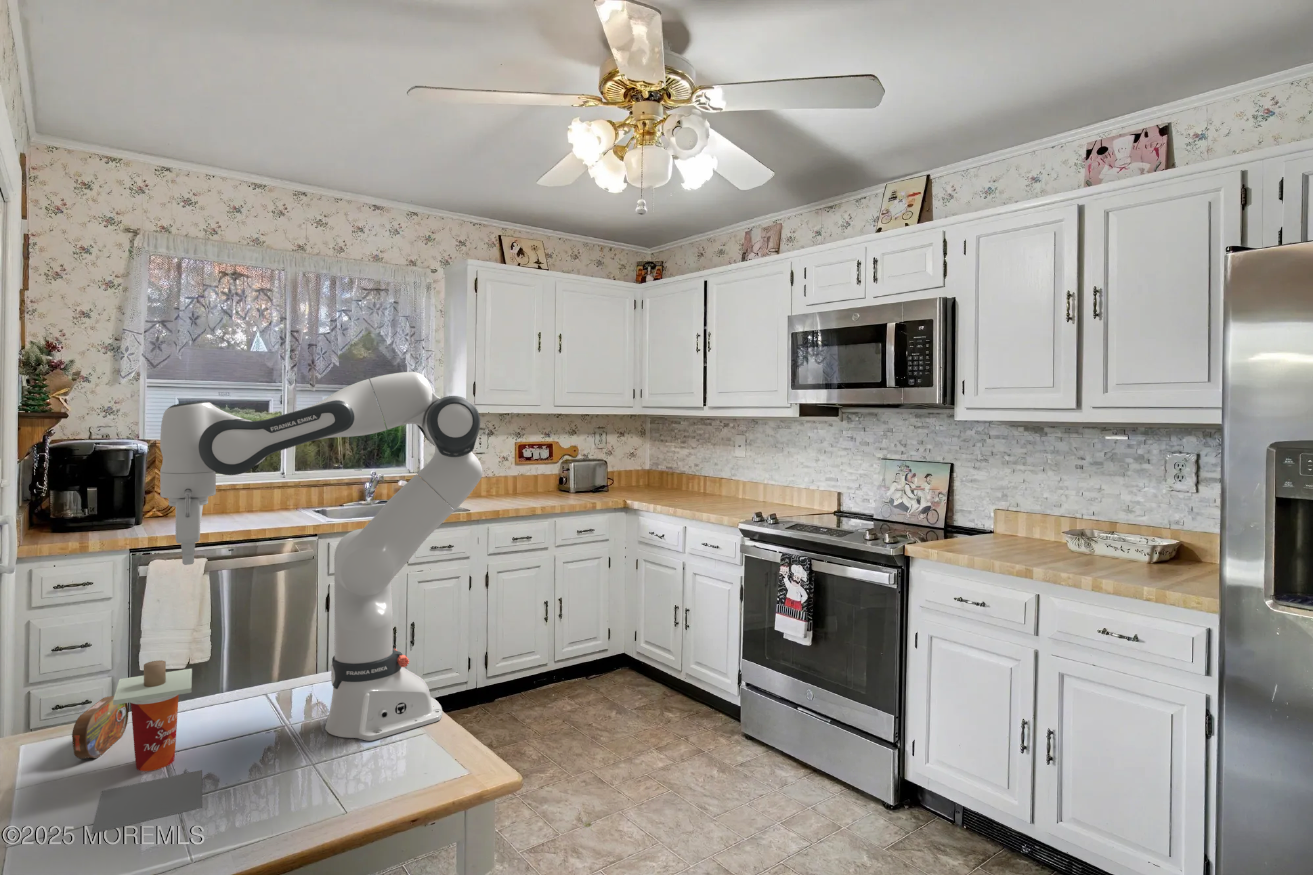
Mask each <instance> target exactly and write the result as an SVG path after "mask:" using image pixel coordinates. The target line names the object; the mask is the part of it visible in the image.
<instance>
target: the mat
mask: <svg viewBox="0 0 1313 875" xmlns="http://www.w3.org/2000/svg"><path fill="white" fill-rule="evenodd" d="M199 809H203V769H200V770H196V771H190V772H185V773H181V774H175V775H170V776H167V777H162V778H157V779H156V778H155V779H152V780H148V781H143V782H138V783H133V784H129V785H128V784H127V785H124V786H120V787H115V788H110V789H105V790H102V791H101V792H100V798H99V802H98V805H97V809H96V814H95V818H94V820H93V824H92V828H91V829H92V830H91V833H90V834H91V835H93V834H97V833H102V832H105V831H109V830H113V829H118V828H123V827H128V826H132V825H135V824H139V823H144V822H148V821H151V820H157V819H160V818H164V817H170V816H173V815H178V814H182V813H188V812H189V811H190V812H191V811H194V810H199Z"/></svg>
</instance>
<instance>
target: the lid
mask: <svg viewBox="0 0 1313 875" xmlns="http://www.w3.org/2000/svg"><path fill="white" fill-rule="evenodd" d="M166 667H167V665H166V661H165V660H152V661H148V662H146V663H144V664H143V675H138V676H131V677H124V678H119V680H118V683H117V686H116V690H115V693H114V695H113V696H114V699H113V705H117V704H123V703H127V704H129V703H130V702H136V701H142V700H148V699H154V698H161V697H167V696H173V695H184V694H190V693H192V683H193V668H185V669H179V670H173V671H166V670H167V668H166Z"/></svg>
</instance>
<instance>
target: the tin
mask: <svg viewBox="0 0 1313 875" xmlns="http://www.w3.org/2000/svg"><path fill="white" fill-rule="evenodd" d="M114 696H115V695H110V696H105V697H102V698H101V699H99V701H96V703H95V704H93V705H92V706H91V707H89V708H88V709H86V710H85V711H84V712H83V713H82V714H80V716H79V717H78V718H77V719H76V721H75V723H74V725H73V727H72V728H73V729H72V731H71V732H72V733H71V738H72V748H73V755H74V756H75V757H76V758H77V759H79V760H86V759H87V760H88V759H98V758H100V757H101V756H102V755H103V754H104V753H106V751H108V750H109V749H110V748H111V747H112V746H113V745H114V744H115V743H116V742H118V741H119V740H120V739H121V738H122V737H123V736H124V733H125V731H126V728H127V726H128V721H129V703H123V704H117V705H113V699H114ZM100 755H101V756H100Z"/></svg>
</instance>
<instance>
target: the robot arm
mask: <svg viewBox="0 0 1313 875" xmlns="http://www.w3.org/2000/svg"><path fill="white" fill-rule="evenodd" d="M430 383H431V382H429V381H428V379H427V378H426V377H425V376H424V375H423V374H422V373H419V372H417V371H403V372H395V373H389V374H384V375H379V376H374V377H372V378H371V377H370V378H367V379H364V380H360V381H358V382H355V383H353V384H350V385H348V386H345V387H343V388H341V389H339V390H337V391H335V392H333V393H332V394H330V395H328V396H327V397H326V398H324V399H322V400H320V401H318V402H316V403H314V404H312V405H310V406H307V407H305V408H301V409H299V410H296V411H292V412H288V413H283V414H280V415H277V416H273V417H270V418H266V419H261V420H250V419H246V418H243V417H240V416H236V415H234V414H232V413H229V412H227V411H224V410H222V409H220V408H218V407H217V406H216V405H214V404H213V403H211V402H210V401H205V400H204V401H203V400H199V401H198V400H197V401H188V402H183V403H182V402H180V403H177V404H172V405H170V406H169V407H167V408H166V410H164V411H163V412H164V413H163V415H162V418H161V419H162V420H161V426H160V436H159V437H160V438H159V440H160V442H159V443H160V444H159V449H160V452H161V455H162V463H161V464H162V465H161V467H160V470H159V471H160V472H159V473H160V474H159V475H160V478H159V479H160V488H159V490H160V492H159V493H160V495H159V496H160V497H161V498H164V499H168V506H169V507H175V542H176V543H177V544H180V546H181V547H180V548H181V556H182V557H181V558H182V559H181V561H182V562H181V563H182V564H183V565H184V566H189V565H194V564H195V551H196V550H195V549H196V543H198V542H200V539H201V537H200V536H201V523H202V522H201V521H202V517H203V516H202V515H203V508H204V506H205V505H208V504H209V497H212V496H216V494H217V490H216V489H217V488H216V486H217V485H216V484H217V481H216V480H217V475H216V474H220V475H223V476H238V475H241V474H244V473H246V472H248V471H250V470H251V469H253V468H254V467H255V466H257V465H259V464H260V463H262V462H263V461H264V460H265V459H266V458H267V457H269V456H270V455H272V454H274V453H277V452H280V451H283V450H287V449H290V448H293V447H296V446H300V445H304V444H306V443H309V442H313V441H317V440H323V439H328V438H329V439H330V438H348V437H349V438H350V437H351V438H352V437H359V436H360V437H361V436H367V435H372V434H377V433H380V432H381V433H382V432H385V431H387V430H391V429H394V428H397V427H400V426H404V425H416V426H417V428H418V429H419V430H420V432H422V434H423V436H424V437H425V438H426V440H427V441H428V442H429V443H430V444H431V445H432V446H434V453H433V456H432V457H431V459H430V460H429V461H428V463H427V464H426V465H425V466H423V468H421V469H420V470H419V471H418V472H417V474H415V475H413V477H412V478H410V479H409V481H408V482H406V483H405V484H404V485H403V486H402V487H401V488H400V489H398V491H397V492H395V494H394V495H393V496H391V497H390V498H389V499H388V500H387V501H386V502H385V504H384V505H382V507H381V509H380V510H379V511H378V512H377V513H376V514H375V515H374V516H373V517H372V519H371V520H370V521H369V523H367V524H366V525H365V526H364V527H363V528H359V529H354V530H351V531H350V532H348V533H346V534H345V535H343V537H341V539H340V540H339V542H338V543H337V545H336V547H335V549H334V554H333V555H334V556H333V557H334V568H333V569H334V576H333V577H334V579H333V580H334V655H333V657H332V658H331V659H332V660H331V667H330V668H331V676H330V677H331V678H330V679H331V680H330V681H331V685H332V695H331V703H330V709H329V713H328V717H327V720H326V723H325V727H324V728H325V730H326V732H328V734H330V735H332V736H335V737H339V738H350V739H354V738H355V739H360V740H364V741H370V742H372V741H376V740H378V739H383V738H385V737H388V736H389V737H390V736H391V735H392V736H393V735H395V734H398V733H403V732H406V731H408V730H413V729H416V728H418V727H422V726H425V725H429V724H432V723H435V722H438V721H440V720H441V719H442V718H443V707H442V705H441V704H440V703H439V701H438V700H436V698H433V697H432V696H431V693H430V689H429V686H428V684H427V683H426V681H425V680H424V679H423V678H422V677H420V676H419V675H417V674H416V673H414V672H412V671H410V670H409V669H407V668H406V667H407V666H408V665H409V664H410V659H409V658H408V657H407V656H406V654H405V655H404V654H403V653H402V652H400V651H398V650H397V649H396V648H394V644H393V642H394V641H393V640H394V637H393V636H394V630H393V629H394V611H393V610H394V609H393V592H392V590H393V589H392V581H393V579H394V578H395V576H397V575H398V573H400V571H401V570H402V569H403V568H404V567H405V566H406V564H407V563H408V562H409V561H410V559H411V558H412V557H413V556H414V555H415V553H416V552H417V551H418V550H419V549H420V547H421V545H422V544H423V543H424V542H425V541H426V540H427V538H429V536H431V535H432V534H433V533H434V531H436V529H438V528H439V527H440V526H441V524H442V523H444V522H445V521H446V520H447V519H448V518H449V517H450V516H451V515H452V514H453V512H455V511H456V510H457V509H458V508H459V507H460V506H461V505H462V504H463V502H464V501H465V500H466V499H467V498H468V497H469V496H470V495H471V493H472V492H473V491H474V489H475V488H476V487H477V485H478V484H479V482H480V481H481V479H482V478H483V472H484V471H483V466H482V463H481V461H480V459H479V458H478V457H477V456H476V455H475V453H473V451H474V450H475V445H476V442H477V438H478V436H479V433H480V428H481V416H480V413H479V410H478V409H477V407H476V406H475V405H474V404H473V403H472V402H471V401H470V400H468V399H467V398H465V397H462V396H459V395H447V396H445V397H440V396H438V395H437V394H436V393H435V392H434V390H433V388H432V385H431V384H430ZM433 706H434V707H433Z"/></svg>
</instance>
